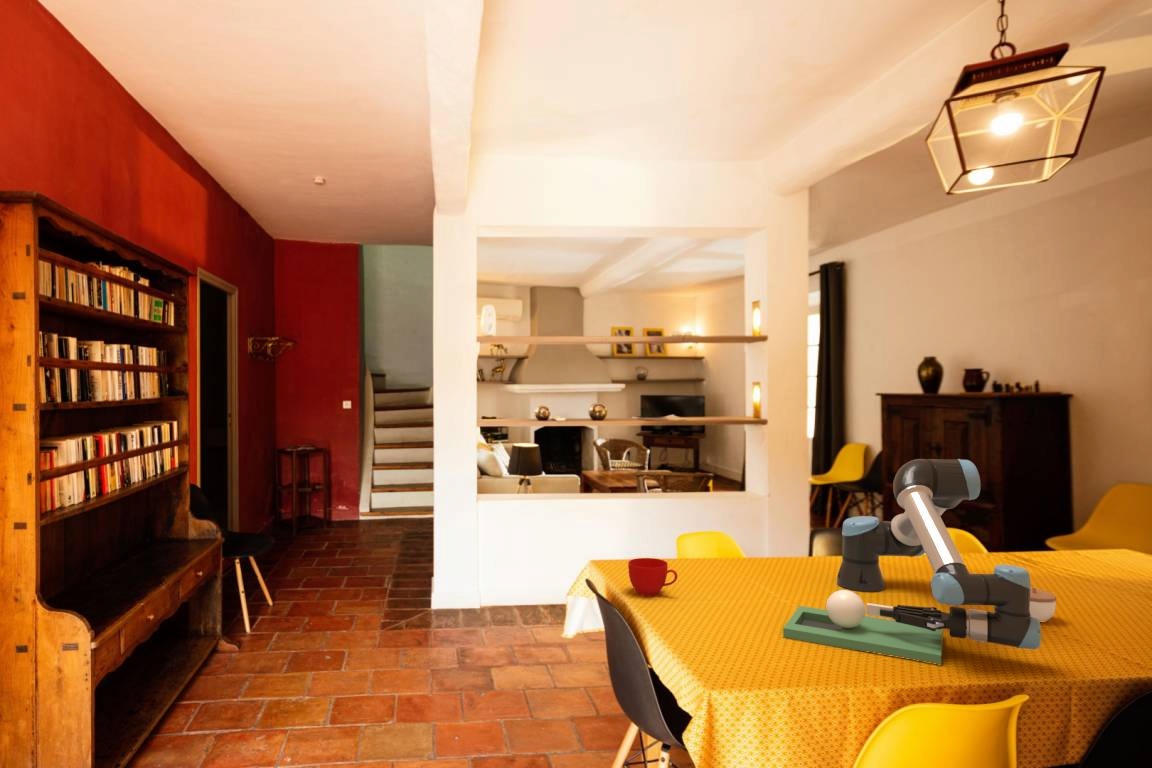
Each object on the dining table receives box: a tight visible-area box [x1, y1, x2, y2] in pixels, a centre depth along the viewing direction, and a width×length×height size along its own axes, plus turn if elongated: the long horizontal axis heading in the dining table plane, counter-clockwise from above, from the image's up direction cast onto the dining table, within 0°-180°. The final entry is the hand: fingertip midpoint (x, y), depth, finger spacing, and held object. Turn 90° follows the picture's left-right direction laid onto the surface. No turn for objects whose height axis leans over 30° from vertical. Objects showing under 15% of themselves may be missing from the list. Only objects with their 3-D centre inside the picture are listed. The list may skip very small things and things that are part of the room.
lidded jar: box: [1030, 586, 1057, 622], centre depth 202 cm, size 11×11×9 cm
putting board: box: [782, 605, 944, 665], centre depth 187 cm, size 38×22×2 cm, turn 61°
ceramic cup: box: [627, 557, 678, 597], centre depth 225 cm, size 13×17×10 cm
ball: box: [825, 589, 866, 628], centre depth 187 cm, size 10×10×10 cm
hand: (866, 608), depth 185 cm, fingers closed
